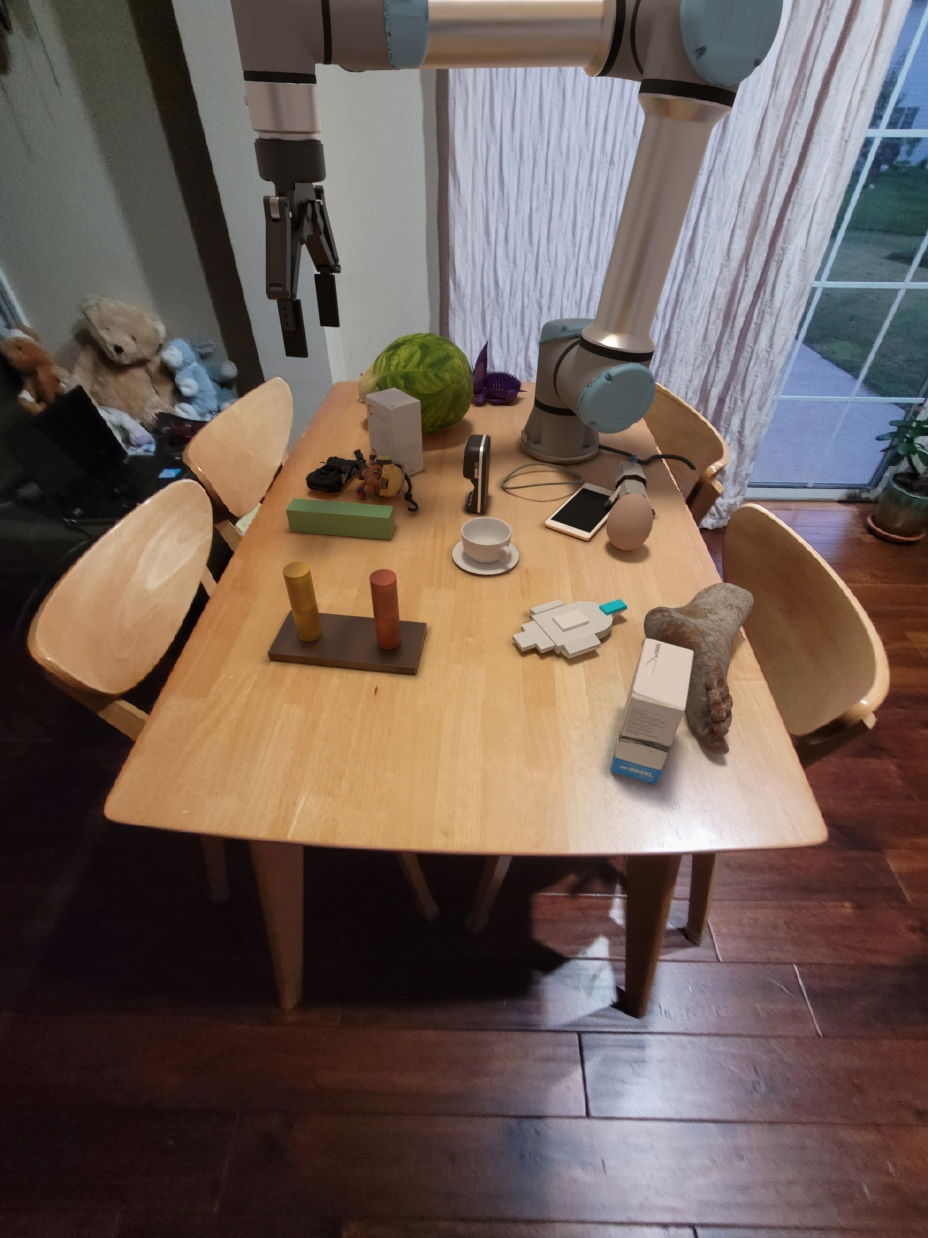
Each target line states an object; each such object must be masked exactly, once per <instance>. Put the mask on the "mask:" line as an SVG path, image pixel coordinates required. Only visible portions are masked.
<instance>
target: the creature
mask: <svg viewBox="0 0 928 1238" xmlns="http://www.w3.org/2000/svg"><path fill="white" fill-rule="evenodd" d="M488 345H489V339H487V340H486V342H485V344H483V347H482V349H481V350H480V352H479V354H478V356H477V358H476V360H475V363H474V366H473V364H471V369H472V375H473V396H476V397H475V399H474V398H473V401H472V403H475V404H476V405H479V406H480V405H483V404H484V403H485V400H487V401H489V402H491V403H493V404H506V403H510V402H513V401H514V400H515V399H517V396H518V395H519V393H528V392H529V391H528V390H524V389H522V386H523V385H522V384H523V382H522V381H521V379H520V378H518V376H516V375H515V374H513V373H510V372H506V371H505V370H504V372H503V370H500V371H493V372H492V371H491V368H488V367H489V365H488V363H489V362H488V361H489V360H488Z"/></svg>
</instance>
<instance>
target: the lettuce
mask: <svg viewBox="0 0 928 1238" xmlns="http://www.w3.org/2000/svg"><path fill="white" fill-rule="evenodd" d="M472 372H473V369H472V366H471V365H470V362H469V359H468V356H467V355H466V353H465V352H464V351H463V350H462V349H461V348H460V347H459V346H458V345H457V344H455V342H452V341H450V340H449V339H448V338H446V337H444V336H441V335H439V334H436V333H432V332H417V333H410V334H405V335H402V336H399V337H397V338H396V339H395V340H393V341H392V342H390V343H389V344H388V345H387V346H385V348H384V349H383V350H382V351H381V352H380V353H379V354H378V356H376V358H375V360H374V361H373V363H372V364H371V365H369V367H368V368H367V369H366V370H365V371H364V372H363V373H362V374H363V375H362V377H361V376H360V378H359V380H358V383H357V391H358V396H359V398H360V399H361V400H362V401H363V402H362V403H363V404H364V405H365V406H366V397H365V395H367V394H371V393H375V392H379V391H383V390H387V389H391V388H396V389H398V390H400V391H402V392H404V393H406V394H408V395H410V396H412V397H414V398H416V399H418V400H420V401H421V428H422V438H423V437H426V436H431V435H434V434H436V433H440V432H442V431H444V430H446V429H447V428H450V427H452V426H454V425H456V424H459V423H460V422H461V421H462V420H463V418H464V417H465V416H466V414H467V413H468V412H469V410H470V408H471V405H472V404H471V403H472V401H473V396H474V394H473V375H472ZM360 399H359V400H360Z"/></svg>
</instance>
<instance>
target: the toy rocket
mask: <svg viewBox="0 0 928 1238" xmlns="http://www.w3.org/2000/svg"><path fill="white" fill-rule="evenodd" d="M628 609H629V607H628V604H626V603H625V602H624V601H623V600H622V599H621V598H617V599H615V600H612V601H609V602H606V603H603V604H600V603H598V602H595V601H590V600H579V601H573V602H571V603H568V604H566V603H565V602H563V601H562V600H561V599H559V598H558V599H554V600H552V601H548V602H545V603H542V604H539V605H536V606H532V607H529V612H528V615H530V617H531V620H530V621H529V622H526V623H523V624H520V630H521V631H522V632H521V631H520V632H517V633H515V634H512V636H511V637H512V639H511V640H512V641H513V642H514V643H515V644H516V646H517V647H518V648H519V650H520V651H521V652H525V651H529V650H532V649H535V648H536V649H537V651H539V653H540V654H543V653H546V652H550V651H554V652H555V653H556V654H562V655H563V656H565V657H566V658H568V659H572V658H575V657H578V656H581V655H583V654H586V653H589V652H592V651H594V650H597V649H600V648H601V644H602V642H601V641H600V640H601V639H603V638H604V637H606V636H608V635H609V634H610V632H611V630H612V625H613V620H614V619H615V618H617V617H618V616H619V615H621V614H623V613H624V612H625V611H627V610H628Z"/></svg>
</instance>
